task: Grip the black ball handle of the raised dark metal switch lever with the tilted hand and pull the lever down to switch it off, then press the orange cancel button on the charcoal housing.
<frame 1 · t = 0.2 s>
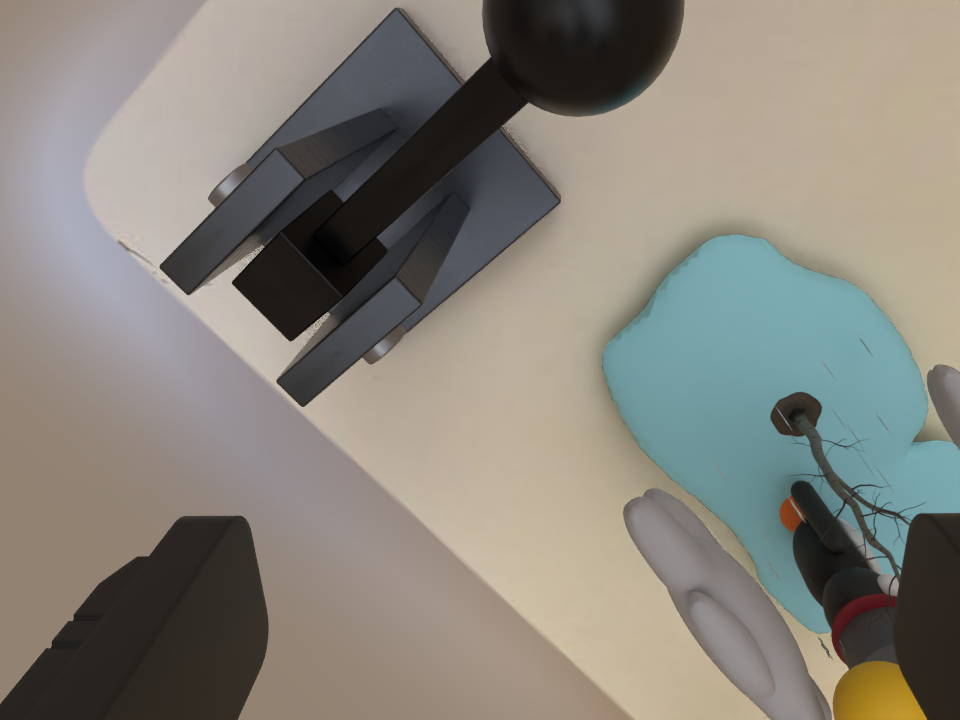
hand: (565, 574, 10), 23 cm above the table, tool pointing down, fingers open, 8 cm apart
switch bracket: (390, 193, 31), on the table
penguin figurine: (796, 437, 34), on the table
lever: (425, 159, 17), point 13 cm above the table, hinge at 25.0°
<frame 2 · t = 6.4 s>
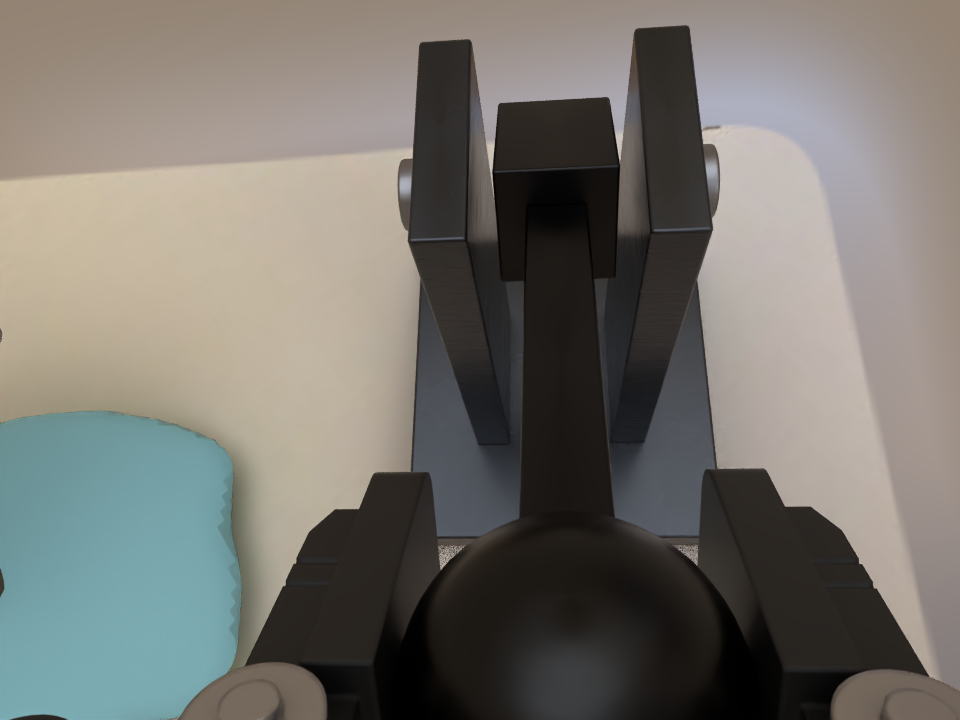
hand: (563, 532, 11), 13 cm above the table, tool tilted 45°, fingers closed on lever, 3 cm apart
switch bracket: (558, 388, 25), on the table
lever: (561, 369, 12), point 13 cm above the table, hinge at 25.0°, touching gripper
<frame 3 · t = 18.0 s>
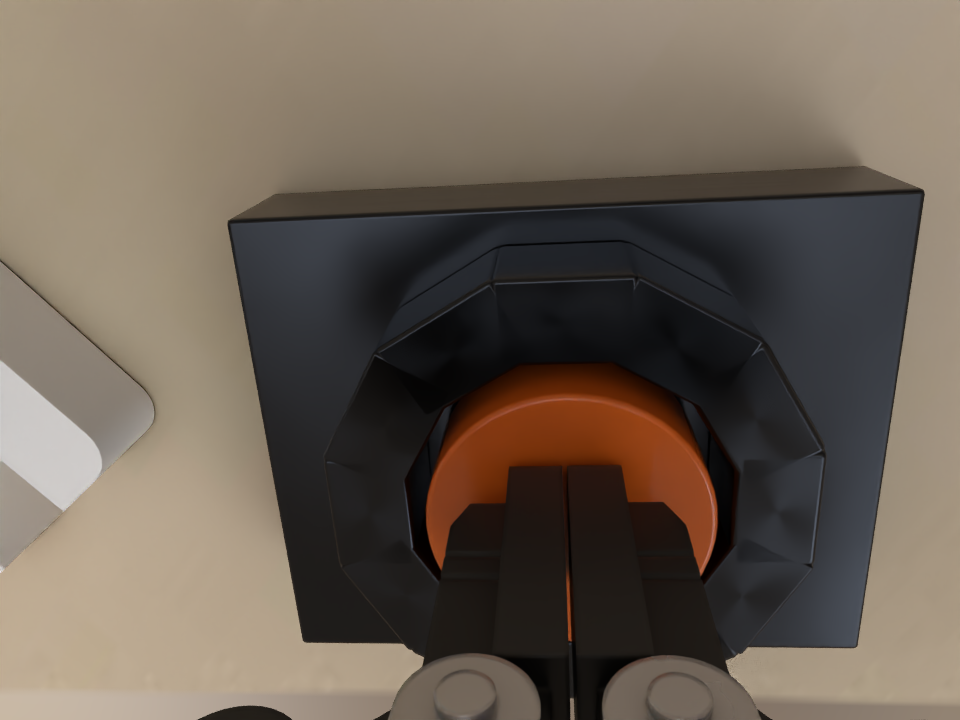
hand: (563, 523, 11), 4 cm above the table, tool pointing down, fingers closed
cancel button: (568, 494, 12), point 3 cm above the table, slide at -0.9 cm, touching gripper
button housing: (564, 395, 15), on the table
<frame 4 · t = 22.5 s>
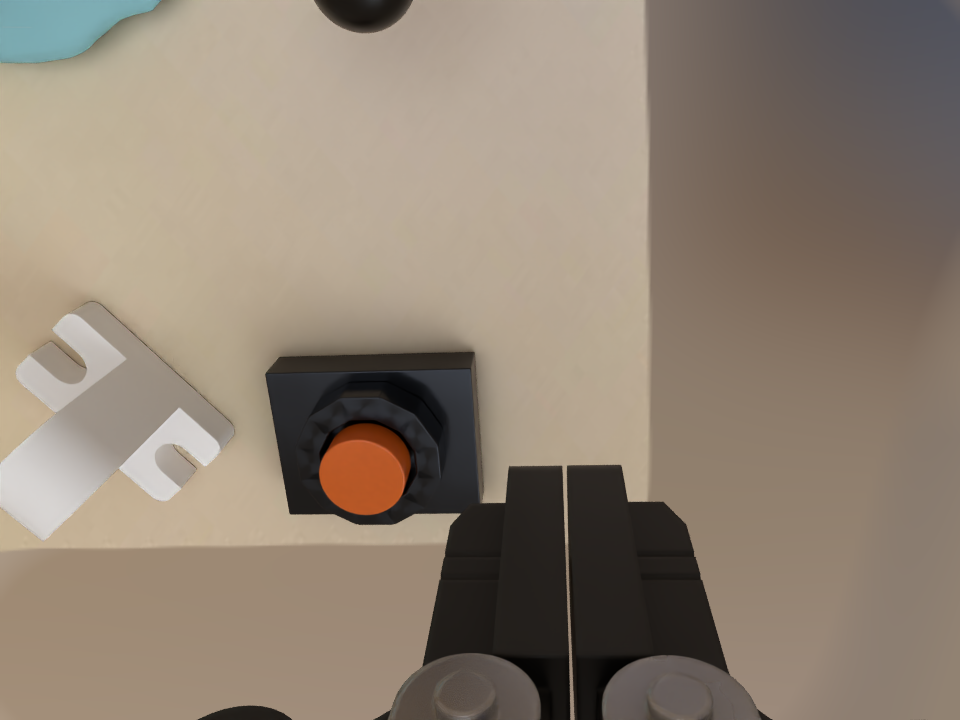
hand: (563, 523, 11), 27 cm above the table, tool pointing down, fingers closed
white mounting bracket: (138, 394, 42), on the table
cancel button: (365, 468, 37), point 4 cm above the table, slide at 0.1 cm
button housing: (384, 425, 41), on the table
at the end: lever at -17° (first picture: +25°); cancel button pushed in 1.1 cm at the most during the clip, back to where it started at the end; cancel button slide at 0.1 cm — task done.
